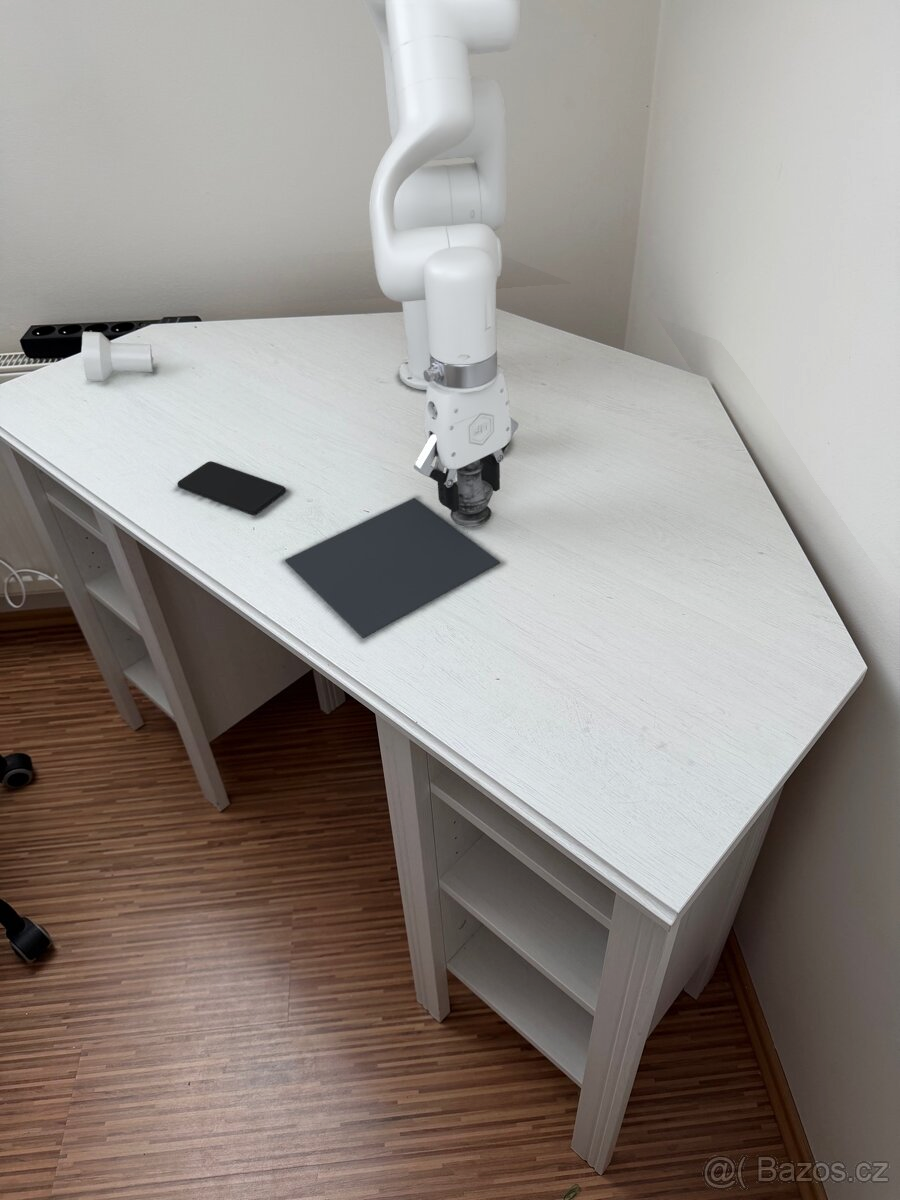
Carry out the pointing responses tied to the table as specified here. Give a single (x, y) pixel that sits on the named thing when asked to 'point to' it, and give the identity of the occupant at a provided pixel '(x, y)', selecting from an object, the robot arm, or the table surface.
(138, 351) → the spotlight
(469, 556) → the mat
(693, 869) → the table surface
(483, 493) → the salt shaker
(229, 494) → the smartphone
